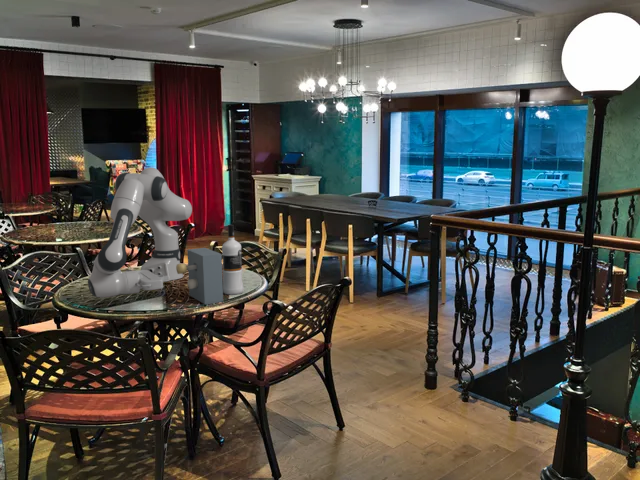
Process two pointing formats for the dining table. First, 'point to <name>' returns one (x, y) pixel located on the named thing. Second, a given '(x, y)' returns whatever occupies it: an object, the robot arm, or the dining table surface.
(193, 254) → the console
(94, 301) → the dining table surface
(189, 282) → the knob lower
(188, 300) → the dining table surface
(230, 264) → the vodka
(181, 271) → the knob upper
